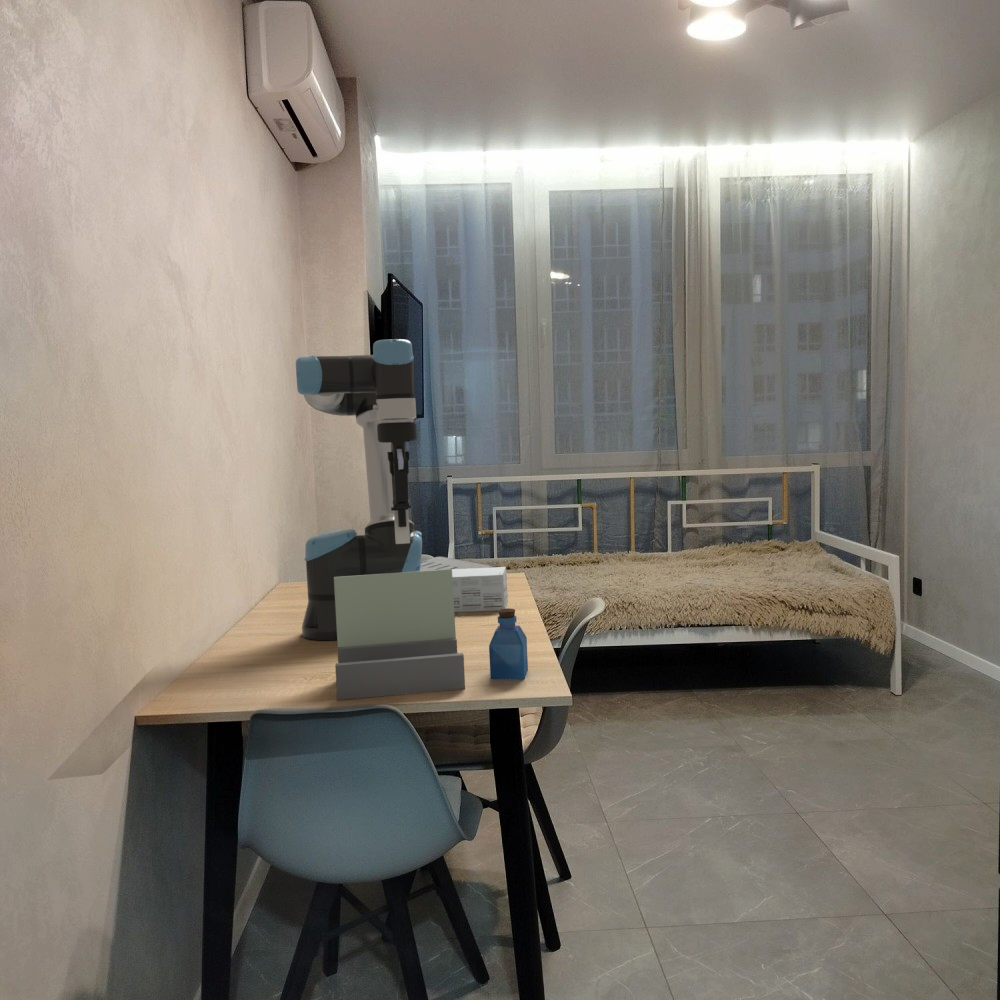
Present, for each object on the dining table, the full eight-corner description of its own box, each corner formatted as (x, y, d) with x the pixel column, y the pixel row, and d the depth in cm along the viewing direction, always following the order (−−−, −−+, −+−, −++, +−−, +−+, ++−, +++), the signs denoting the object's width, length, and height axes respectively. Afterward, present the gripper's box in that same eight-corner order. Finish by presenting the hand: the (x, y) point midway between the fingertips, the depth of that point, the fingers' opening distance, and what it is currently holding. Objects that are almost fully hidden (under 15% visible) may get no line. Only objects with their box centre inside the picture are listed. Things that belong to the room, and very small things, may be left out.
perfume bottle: (524, 679, 155) (521, 613, 154) (490, 679, 156) (487, 614, 155) (527, 669, 161) (525, 606, 160) (495, 670, 162) (492, 607, 161)
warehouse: (399, 586, 259) (398, 561, 259) (440, 580, 267) (439, 556, 267) (451, 600, 235) (449, 572, 234) (494, 592, 243) (493, 566, 242)
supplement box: (508, 600, 229) (506, 566, 228) (505, 611, 216) (503, 574, 215) (445, 603, 230) (443, 568, 229) (438, 613, 217) (436, 576, 216)
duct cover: (337, 648, 160) (338, 647, 161) (455, 639, 163) (455, 638, 164) (333, 577, 160) (334, 577, 161) (451, 569, 163) (451, 569, 164)
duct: (339, 679, 160) (337, 647, 160) (457, 669, 163) (455, 638, 163) (337, 700, 147) (335, 665, 147) (465, 688, 150) (463, 655, 150)
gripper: (375, 422, 171) (381, 539, 173) (378, 422, 158) (385, 549, 160) (413, 420, 172) (419, 537, 175) (419, 420, 159) (425, 546, 162)
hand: (402, 542), depth 168 cm, fingers closed
